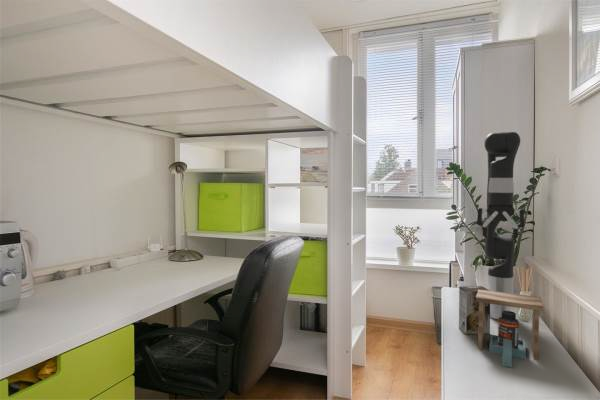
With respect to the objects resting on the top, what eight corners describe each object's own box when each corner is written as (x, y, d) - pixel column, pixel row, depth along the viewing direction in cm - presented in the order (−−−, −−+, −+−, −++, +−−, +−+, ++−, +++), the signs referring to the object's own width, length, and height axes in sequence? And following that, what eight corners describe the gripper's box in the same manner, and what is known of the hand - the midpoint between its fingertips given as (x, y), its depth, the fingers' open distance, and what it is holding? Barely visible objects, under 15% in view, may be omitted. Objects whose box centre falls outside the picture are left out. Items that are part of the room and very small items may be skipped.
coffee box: (481, 327, 145) (482, 285, 145) (490, 334, 139) (491, 290, 138) (457, 327, 145) (458, 285, 144) (465, 334, 139) (466, 290, 138)
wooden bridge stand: (477, 336, 137) (478, 289, 136) (539, 347, 128) (540, 297, 127) (474, 347, 127) (475, 297, 127) (541, 360, 118) (543, 306, 117)
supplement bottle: (495, 346, 125) (496, 312, 125) (500, 341, 130) (501, 308, 130) (516, 351, 121) (516, 316, 121) (520, 346, 126) (520, 312, 126)
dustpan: (490, 341, 133) (491, 327, 133) (524, 347, 128) (525, 332, 128) (487, 362, 116) (488, 346, 116) (526, 370, 111) (527, 353, 111)
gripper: (524, 191, 129) (523, 239, 129) (478, 191, 136) (477, 236, 136) (525, 191, 122) (524, 241, 123) (477, 191, 129) (476, 238, 130)
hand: (499, 238), depth 130 cm, fingers open, 8 cm apart
